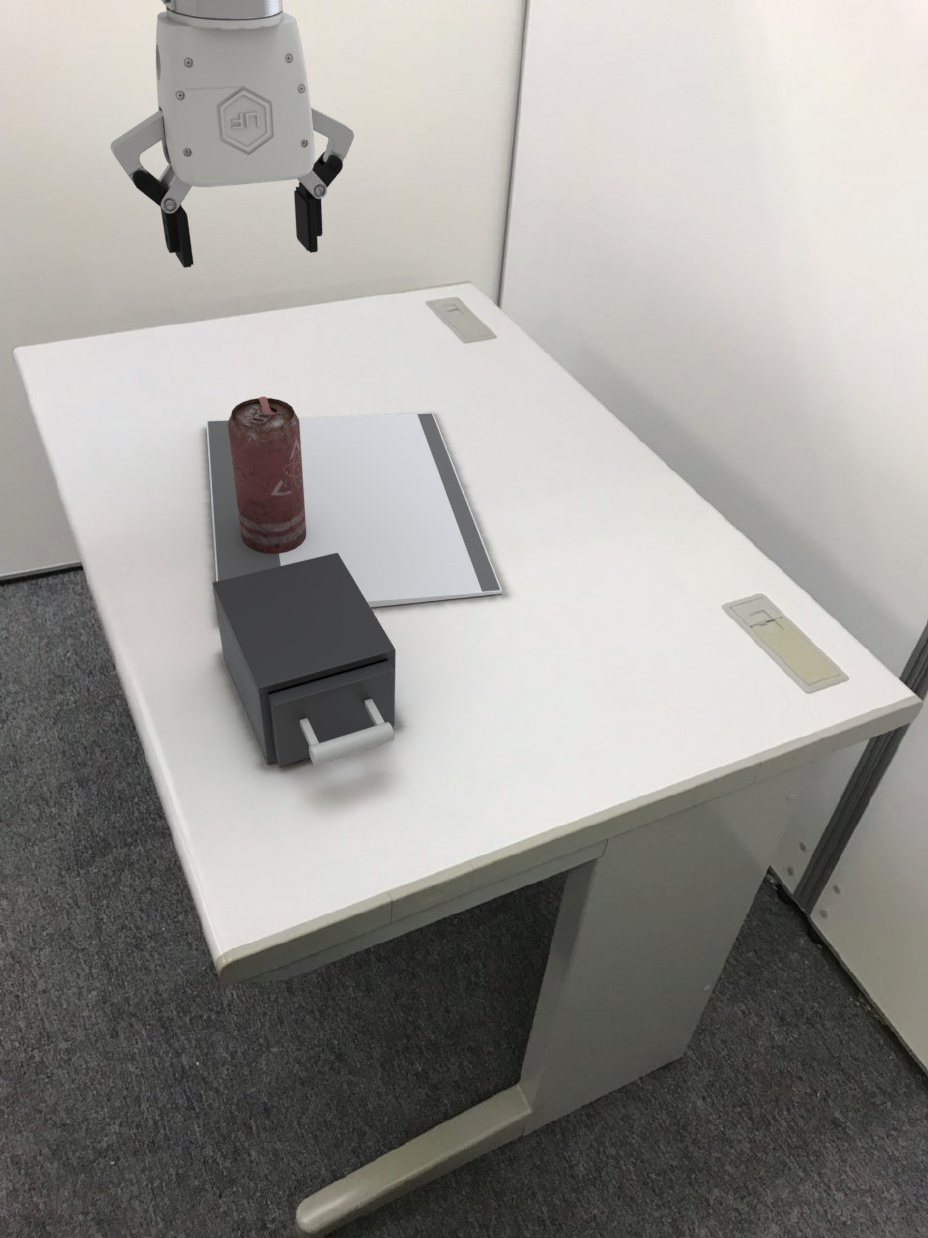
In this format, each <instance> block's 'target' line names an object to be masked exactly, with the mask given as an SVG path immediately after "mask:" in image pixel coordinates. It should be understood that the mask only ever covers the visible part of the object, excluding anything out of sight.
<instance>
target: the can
mask: <svg viewBox="0 0 928 1238" xmlns="http://www.w3.org/2000/svg"><path fill="white" fill-rule="evenodd" d="M228 420H229V422H228V431H229V439H230V448H231V456H232V465H233V473H234V481H235V490H236V498H237V506H238V515H239V523H240V531H241V537H242V540H243V542H244V543H245V544H246V545H247V546H248V547H249V548H251V549H253V550H255V551H257V552H261V553H266V554H279V553H285V552H289V551H291V550H294V549H296V548H297V547H299V546H300V545H301V544H302V543H303V542H304V540H305V539H306V520H305V504H304V488H303V472H302V456H301V440H300V424H299V419H298V415H297V414H296V411H295V410H294V408H293V406H292V405H290V403H288V402H286V401H284V400H281V399H277V398H274V397H273V398H272V397H267V396H260V397H257V398H250V399H248V400H245V401H242V402H240V403H238V404H236V405H235V407H233V408H232V410H231V414H230V416H229V419H228Z"/></svg>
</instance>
